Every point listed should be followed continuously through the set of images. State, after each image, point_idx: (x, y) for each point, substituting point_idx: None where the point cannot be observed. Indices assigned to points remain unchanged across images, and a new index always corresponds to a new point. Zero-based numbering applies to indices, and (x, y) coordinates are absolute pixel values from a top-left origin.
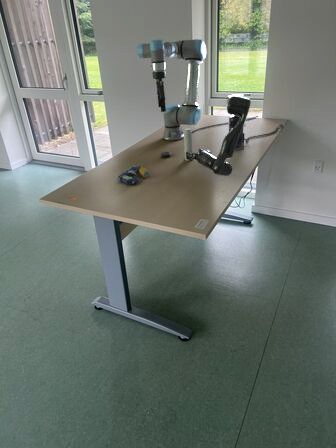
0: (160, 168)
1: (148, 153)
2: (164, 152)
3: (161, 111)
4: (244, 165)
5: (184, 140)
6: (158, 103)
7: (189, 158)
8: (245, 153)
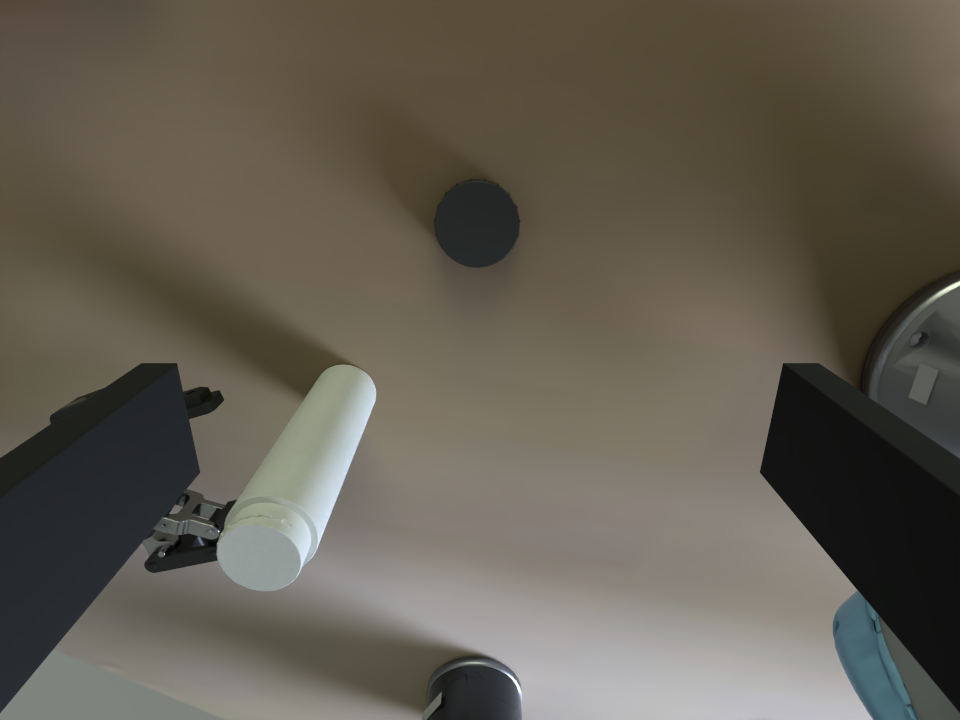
0: (186, 133)
1: (629, 53)
2: (507, 218)
3: (132, 374)
4: (163, 657)
5: (285, 447)
6: (842, 412)
7: (80, 399)
8: (359, 707)
